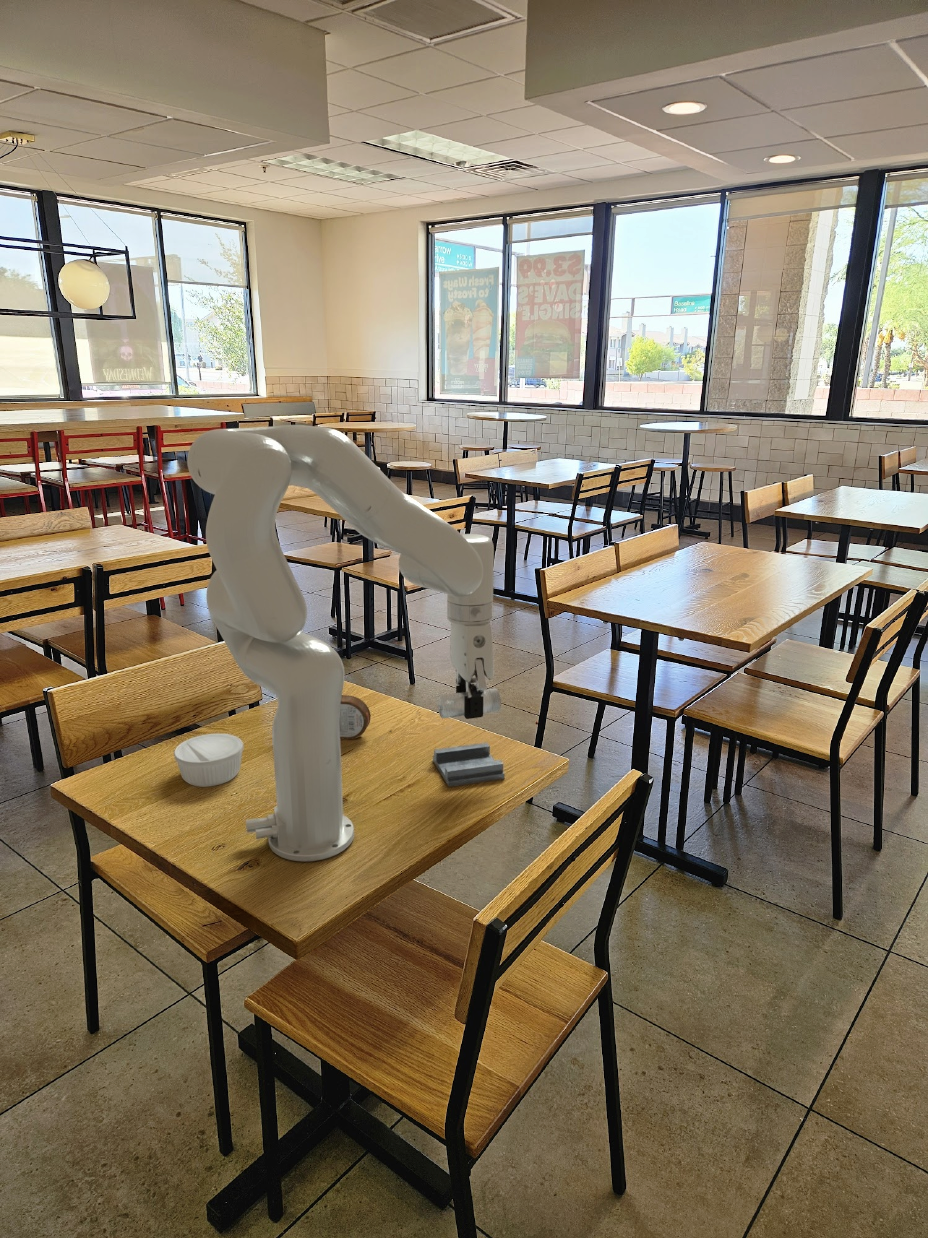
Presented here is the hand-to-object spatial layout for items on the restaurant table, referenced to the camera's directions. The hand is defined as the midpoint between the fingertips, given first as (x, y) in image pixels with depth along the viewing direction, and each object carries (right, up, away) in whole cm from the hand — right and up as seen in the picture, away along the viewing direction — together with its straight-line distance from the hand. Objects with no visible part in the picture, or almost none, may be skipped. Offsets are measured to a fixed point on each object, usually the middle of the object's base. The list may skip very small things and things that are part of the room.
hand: (469, 710), depth 139 cm
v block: (0, -11, +3) cm, 11 cm away
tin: (-26, -7, +15) cm, 31 cm away
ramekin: (-45, -11, +1) cm, 46 cm away
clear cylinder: (0, -1, 0) cm, 1 cm away
